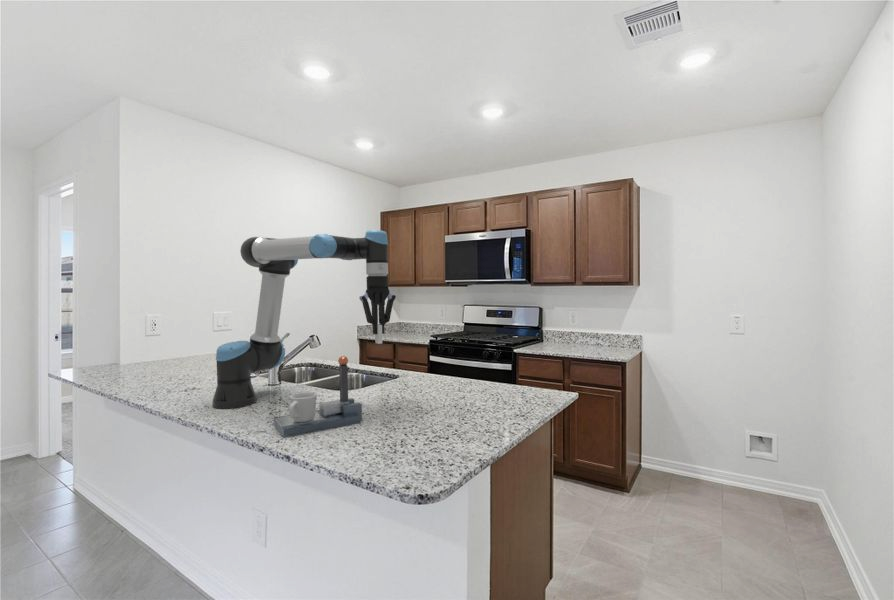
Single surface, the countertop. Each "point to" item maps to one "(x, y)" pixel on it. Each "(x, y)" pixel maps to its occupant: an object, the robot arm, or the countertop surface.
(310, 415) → the cup
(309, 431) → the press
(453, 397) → the countertop surface
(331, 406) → the lever
